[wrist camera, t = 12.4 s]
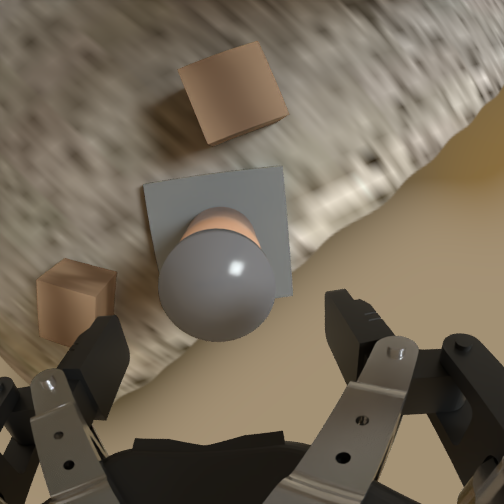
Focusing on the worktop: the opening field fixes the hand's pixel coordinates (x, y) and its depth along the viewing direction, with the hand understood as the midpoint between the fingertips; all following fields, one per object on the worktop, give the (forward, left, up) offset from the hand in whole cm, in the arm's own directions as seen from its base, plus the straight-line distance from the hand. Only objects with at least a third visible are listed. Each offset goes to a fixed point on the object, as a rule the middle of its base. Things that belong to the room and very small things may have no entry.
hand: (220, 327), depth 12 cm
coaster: (0, 0, -13) cm, 13 cm away
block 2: (-2, -10, -13) cm, 17 cm away
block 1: (+12, +3, -13) cm, 18 cm away
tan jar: (0, 0, -12) cm, 12 cm away
